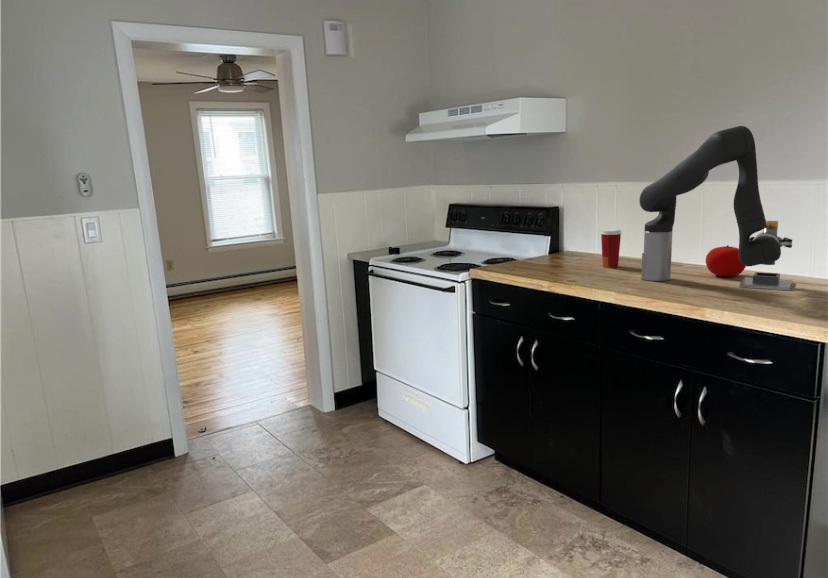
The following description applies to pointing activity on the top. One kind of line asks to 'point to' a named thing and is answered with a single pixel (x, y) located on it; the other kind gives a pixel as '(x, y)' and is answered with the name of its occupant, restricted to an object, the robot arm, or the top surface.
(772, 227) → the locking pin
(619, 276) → the top surface
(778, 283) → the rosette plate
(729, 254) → the tomato
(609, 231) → the coffee cup
